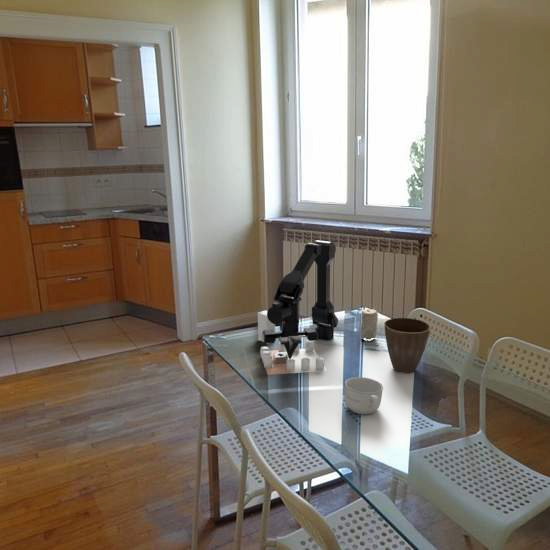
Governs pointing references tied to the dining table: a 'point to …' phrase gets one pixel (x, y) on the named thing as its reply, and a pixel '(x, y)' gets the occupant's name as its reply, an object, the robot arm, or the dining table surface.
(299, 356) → the board
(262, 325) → the skincare box
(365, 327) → the beige upright cylinder
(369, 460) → the dining table surface
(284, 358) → the nut
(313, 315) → the robot arm
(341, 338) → the dining table surface
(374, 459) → the dining table surface
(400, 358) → the plant pot
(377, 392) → the teacup
